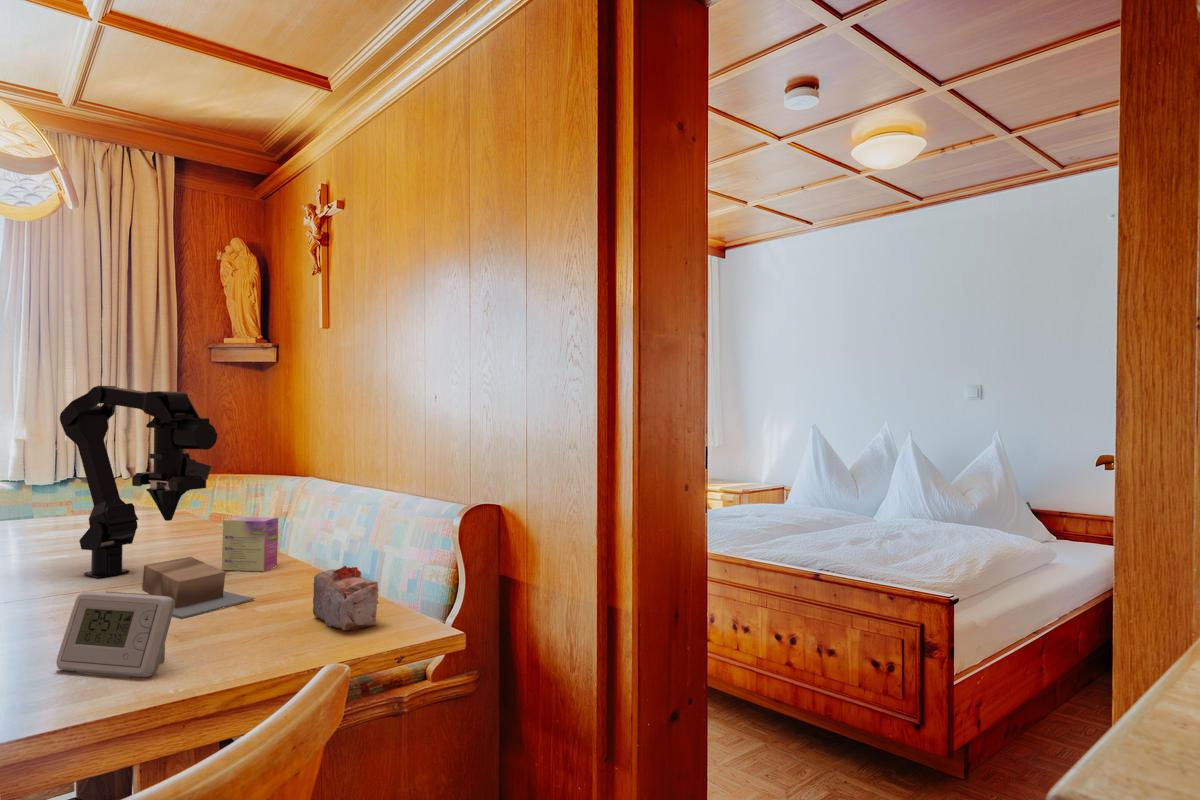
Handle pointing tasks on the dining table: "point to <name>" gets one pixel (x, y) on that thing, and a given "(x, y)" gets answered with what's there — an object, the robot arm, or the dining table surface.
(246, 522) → the box
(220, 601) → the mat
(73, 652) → the digital clock
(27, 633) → the dining table surface
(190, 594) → the walnut block
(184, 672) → the dining table surface
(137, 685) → the dining table surface
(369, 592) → the food item
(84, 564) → the dining table surface
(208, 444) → the robot arm
